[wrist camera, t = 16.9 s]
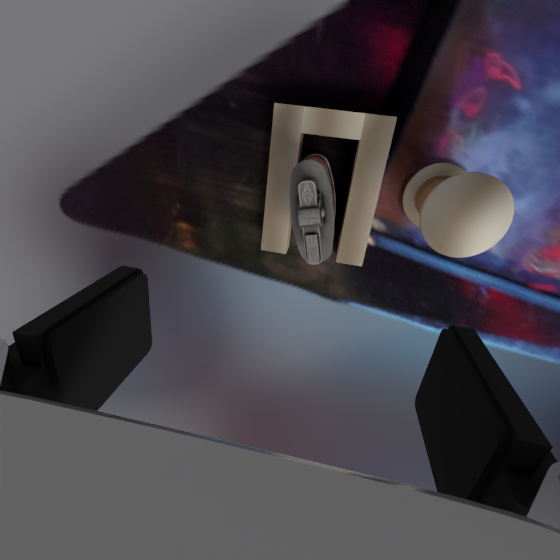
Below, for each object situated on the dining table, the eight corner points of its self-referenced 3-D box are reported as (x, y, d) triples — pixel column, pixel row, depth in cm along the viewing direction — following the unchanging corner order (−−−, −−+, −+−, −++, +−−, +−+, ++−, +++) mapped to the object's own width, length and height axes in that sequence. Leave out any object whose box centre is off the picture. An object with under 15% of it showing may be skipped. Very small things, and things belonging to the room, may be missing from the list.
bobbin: (482, 167, 29) (529, 179, 21) (458, 233, 31) (494, 263, 24) (412, 158, 29) (435, 167, 22) (394, 223, 32) (410, 250, 25)
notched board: (392, 118, 28) (397, 117, 26) (360, 257, 34) (361, 266, 32) (279, 105, 29) (274, 102, 27) (266, 242, 35) (260, 249, 33)
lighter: (296, 156, 31) (278, 166, 22) (332, 151, 30) (329, 159, 21) (305, 238, 34) (292, 276, 25) (338, 235, 33) (337, 273, 24)
